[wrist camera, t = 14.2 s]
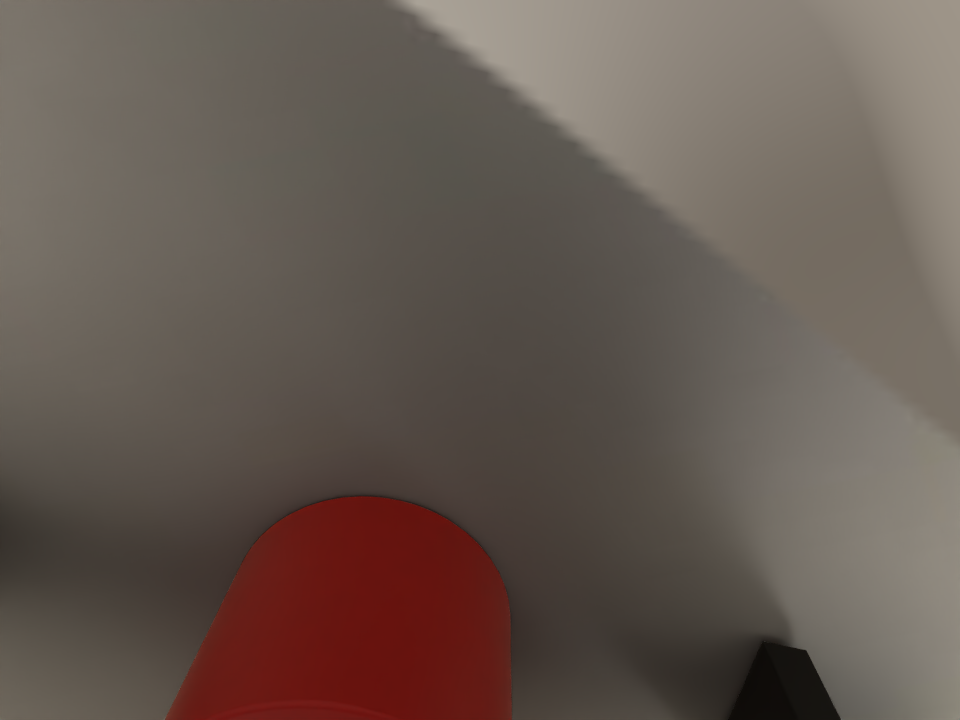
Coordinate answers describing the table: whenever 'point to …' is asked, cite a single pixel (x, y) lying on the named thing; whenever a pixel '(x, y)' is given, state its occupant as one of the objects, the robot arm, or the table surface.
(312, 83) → the table surface
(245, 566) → the pepper
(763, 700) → the robot arm
